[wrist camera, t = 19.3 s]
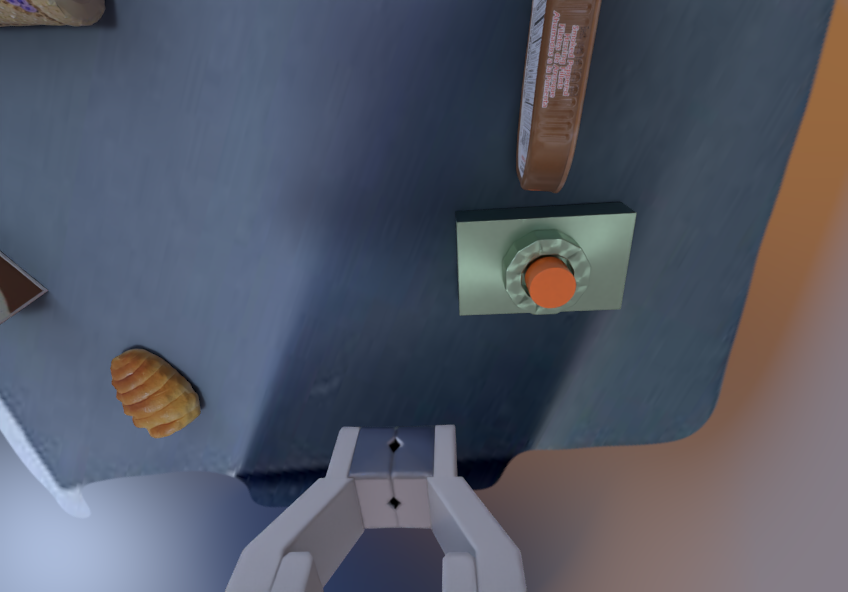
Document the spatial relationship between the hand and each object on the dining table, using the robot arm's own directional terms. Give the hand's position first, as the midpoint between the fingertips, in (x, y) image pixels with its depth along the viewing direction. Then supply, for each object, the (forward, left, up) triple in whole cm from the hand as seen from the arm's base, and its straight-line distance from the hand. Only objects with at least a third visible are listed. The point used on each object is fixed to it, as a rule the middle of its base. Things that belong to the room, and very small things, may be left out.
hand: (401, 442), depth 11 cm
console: (+5, +8, -25) cm, 27 cm away
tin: (-9, +8, -25) cm, 28 cm away
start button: (+5, +9, -21) cm, 23 cm away
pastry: (+18, -29, -25) cm, 42 cm away
